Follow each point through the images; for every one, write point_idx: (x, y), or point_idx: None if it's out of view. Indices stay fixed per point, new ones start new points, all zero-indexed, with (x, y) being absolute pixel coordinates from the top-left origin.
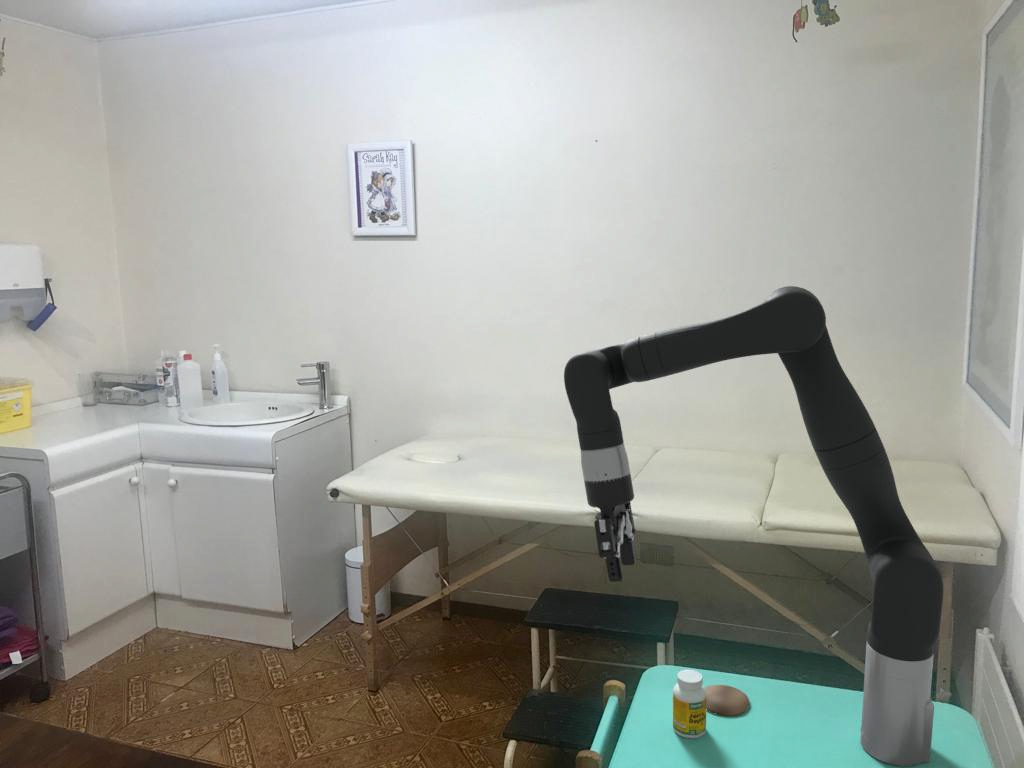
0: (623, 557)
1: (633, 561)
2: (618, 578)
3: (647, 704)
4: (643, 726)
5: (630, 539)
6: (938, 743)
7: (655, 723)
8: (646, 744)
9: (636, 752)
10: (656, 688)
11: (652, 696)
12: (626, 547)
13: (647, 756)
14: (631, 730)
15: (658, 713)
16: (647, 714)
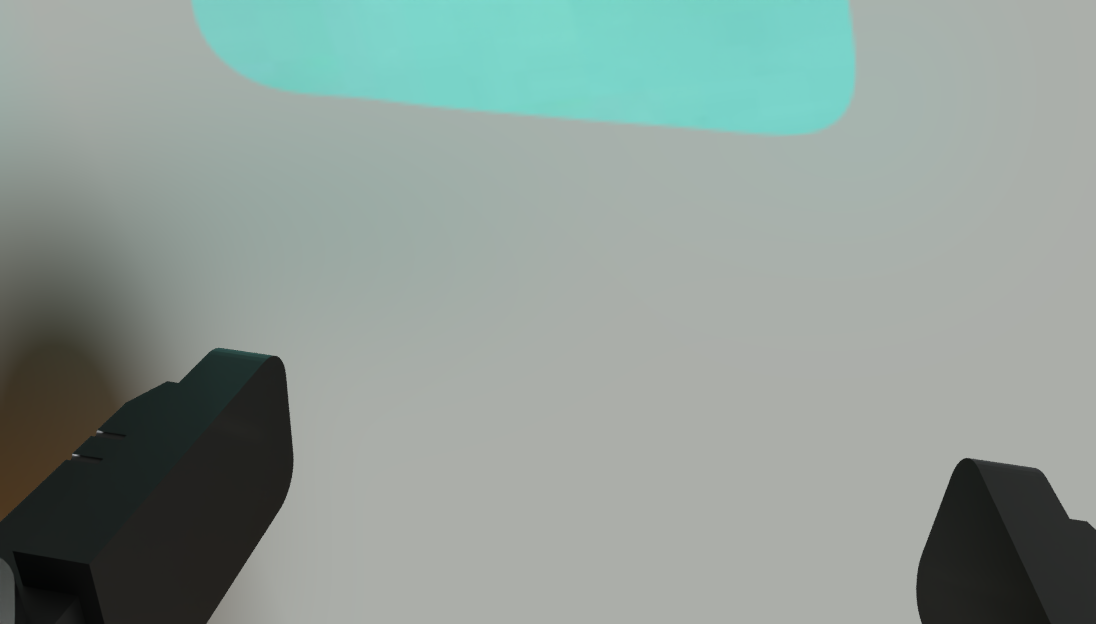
0: (246, 527)
1: (266, 377)
2: (1083, 528)
3: (474, 77)
4: (635, 75)
5: (23, 618)
6: None
7: (604, 27)
8: (755, 49)
9: (814, 83)
10: (341, 51)
11: (408, 62)
12: (160, 584)
13: (833, 36)
14: (673, 121)
15: (528, 22)
16: (547, 68)
